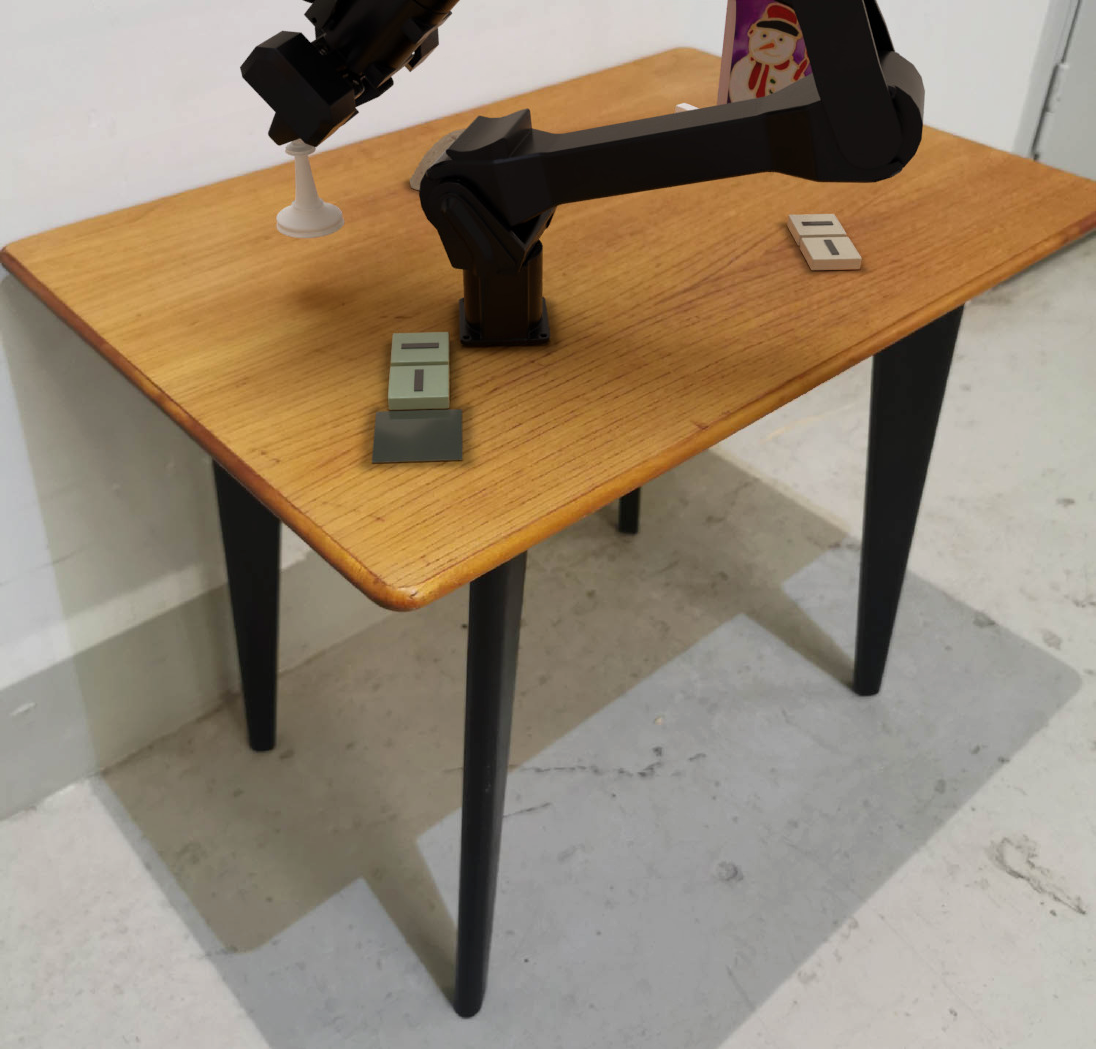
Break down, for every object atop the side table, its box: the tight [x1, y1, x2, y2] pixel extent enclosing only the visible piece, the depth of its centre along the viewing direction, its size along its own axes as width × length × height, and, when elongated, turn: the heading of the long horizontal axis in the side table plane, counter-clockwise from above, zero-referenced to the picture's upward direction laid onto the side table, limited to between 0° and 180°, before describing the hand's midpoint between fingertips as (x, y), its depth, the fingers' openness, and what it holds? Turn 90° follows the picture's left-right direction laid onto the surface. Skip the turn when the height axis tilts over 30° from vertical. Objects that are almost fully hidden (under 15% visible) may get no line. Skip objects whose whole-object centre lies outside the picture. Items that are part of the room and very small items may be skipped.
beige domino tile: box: [786, 213, 863, 271], centre depth 93 cm, size 8×4×1 cm, turn 4°
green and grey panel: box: [371, 331, 464, 464], centre depth 75 cm, size 14×6×1 cm, turn 4°
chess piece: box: [275, 139, 345, 239], centre depth 79 cm, size 5×5×10 cm
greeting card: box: [716, 0, 812, 105], centre depth 108 cm, size 11×7×15 cm, turn 55°
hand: (281, 134), depth 79 cm, fingers closed on chess piece
